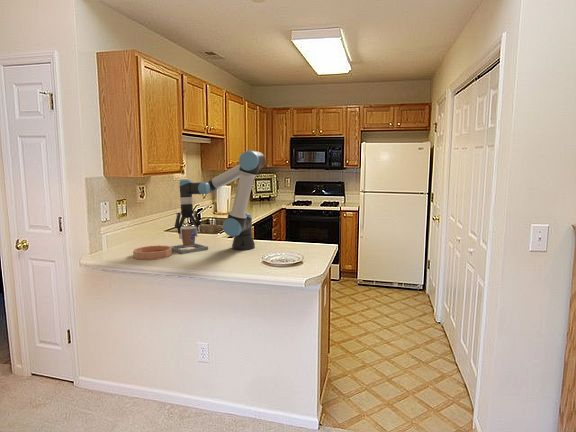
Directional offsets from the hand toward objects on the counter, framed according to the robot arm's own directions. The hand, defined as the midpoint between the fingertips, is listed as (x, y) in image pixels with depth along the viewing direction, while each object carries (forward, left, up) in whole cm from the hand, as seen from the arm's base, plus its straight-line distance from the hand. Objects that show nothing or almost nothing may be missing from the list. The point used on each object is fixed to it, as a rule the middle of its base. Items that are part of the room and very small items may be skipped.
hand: (188, 237), depth 258 cm
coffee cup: (0, 0, -6) cm, 6 cm away
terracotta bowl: (0, +24, -8) cm, 26 cm away
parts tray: (0, 0, -8) cm, 8 cm away
